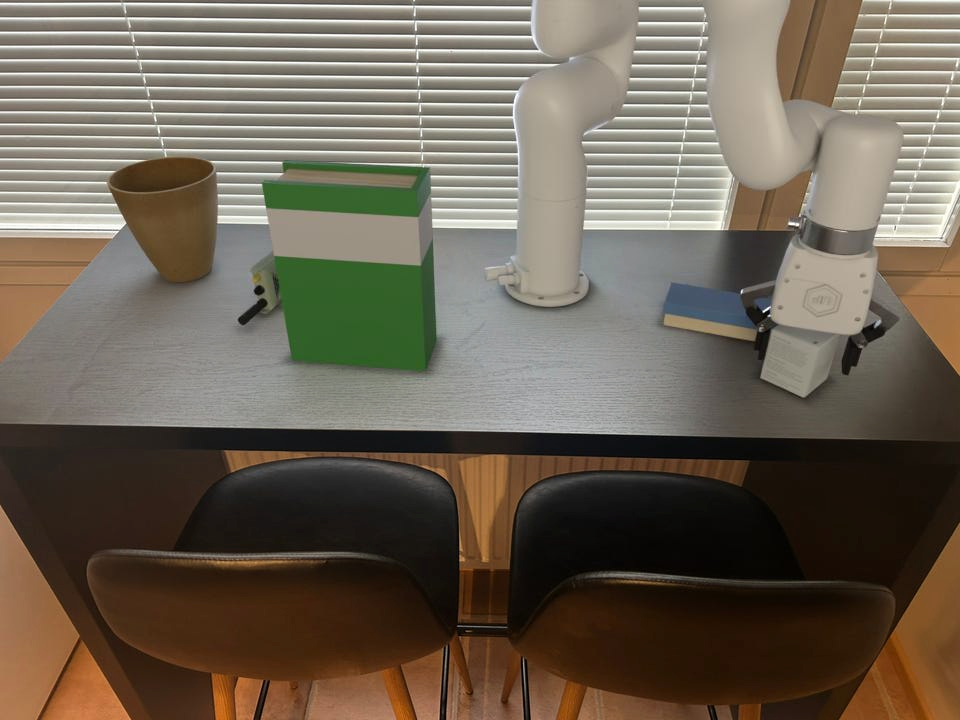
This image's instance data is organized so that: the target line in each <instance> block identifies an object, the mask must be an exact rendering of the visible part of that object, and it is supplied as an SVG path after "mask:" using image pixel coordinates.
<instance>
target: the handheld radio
mask: <svg viewBox="0 0 960 720" xmlns="http://www.w3.org/2000/svg"><path fill="white" fill-rule="evenodd" d="M249 272H250V273H251V274H252V277H251V279H252V282H254V289H253V294H254V295H255V296H256V297H257V301H256V303H255V304H253V305H252V306H251V307H249V308H248V309H247V310H246V311H245V312H243V313H242V314H241V315H240V316H239V317H238V318H237V323H238V324H239V325H240V326H245V325H247V324H248V323H249V322H250V321H251V320H253V318H254V317H256V316H257V315H258V314H264V315H267V314H269V313H270V312H271V311H272V310H273V309H275V308H276V307H277V306H278V305H280V303H282V299H281V293H280V287H279V282H278V276H277V270H276V264H275V258H274V252H273V250H272V251H269V253H268V254H267V255H265V256H264V257H263V258H261V259H260V260H259V261H258V262H256V263H255V264H254V265H252V266H251V269H250V270H249Z"/></svg>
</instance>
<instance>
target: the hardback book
mask: <svg viewBox="0 0 960 720" xmlns="http://www.w3.org/2000/svg"><path fill="white" fill-rule="evenodd" d="M281 163H282V171H283V173H282V174H281V175H280V176H279V177H278V178H277V179H276V180H271V179H264V180H263V181H262V182H261V187H262V193H263V198H264V204H265V210H266V216H267V217H266V218H267V221H268V228H269V234H270V240H271V245H272V251H273V252H274V258H275V264H276V270H277V276H278V282H279V287H280V293H281V299H282V301H281V305H282V311H283V316H284V323H285V328H286V334H287V339H288V346H289V352H290V359H291V361H295V362H296V361H297V362H307V363H317V364H318V363H321V364H333V365H344V366H354V367H355V366H357V367H369V368H380V369H393V370H404V371H415V372H427V369H428V366H429V363H430V361H431V357H432V354H433V352H434V349H435V346H436V343H437V339H438V338H437V337H438V336H437V314H436V313H437V312H436V288H435V287H436V286H435V283H436V282H435V262H434V261H435V260H434V259H435V258H434V256H435V255H434V232H433V208H432V205H433V203H432V181H431V180H432V177H431V167H428V166H410V165H409V166H408V165H390V164H369V163H351V162H334V161H333V162H332V161H331V162H329V161H311V160H309V161H308V160H295V159H293V160H292V159H285V160H283V161H282V162H281Z"/></svg>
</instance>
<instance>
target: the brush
mask: <svg viewBox="0 0 960 720" xmlns="http://www.w3.org/2000/svg"><path fill="white" fill-rule="evenodd" d="M740 294H741V292H740V293H739V292H733V291H728V290H727V291H726V290H721V289H714V288H709V287H702V286H697V285H691V284H684V283H679V282H674V281H673V282H671V281H670V284H669V287H668V290H667V293H666V296H665V300H664V304H663V310H662V314H664V318H663V324H662V325H663V326H667V327H672V328H678V329H685V330H688V331H694V332H701V333H706V334H712V335H715V336H716V335H717V336H722V337H728V338H733V339H740V340H745V341H749V342H755V338H756V334H757V329H756V326H755V324H754V323H753V322H752V321H751V320H750V319H749V317H748V316H747V315H746V311H745V308H744V306H743V304H742V301H741V298H740ZM771 301H772V298H770V297H762V298H758V299H755V303H756V304H757V306H758V307H759V308H760V309H761V310H762V311H764V310H765V309H767V308H768V307H770V306H771ZM777 325H779V324H777V323H776V324H775V325H773V326H772V327H771V328H770V334H771V330H772V329H773V328H775V327H776V326H777ZM769 338H770V336H769ZM768 342H769V341H768Z"/></svg>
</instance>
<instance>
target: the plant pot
mask: <svg viewBox="0 0 960 720" xmlns="http://www.w3.org/2000/svg"><path fill="white" fill-rule="evenodd" d="M217 176H218V175H217V166H216V165H215V163H214V162H212V161H211V160H209V159H205V158H202V157H196V156H185V155H183V156H181V155H179V156H165V157H164V156H163V157H154V158H150V159H145V160H140V161H137V162H134V163H130V164H127V165H125V166H123V167H121V168H118V169H117V170H115V171H113V172H112V173H111V174H109V175H108V176H107V178H106V185H107V186H108V189H109V192H110V193H111V195H112V197H113V199H114V201H115V203H116V206H117V208H118V211H119V212H120V214H121V216H122V218H123V220H124V222H125V223H126V225H127V227H128V229H129V231H130V232H131V234H132V235H133V237H134V239H135V240H136V242H137V244H138V246H139V247H140V249H141V250H142V252H143V253H144V254H145V256H146V257H147V258H148V260H149V261H150V262H151V264H152V266H153V267H154V269H155V270H157V272H158V273H159V274H160V276H161V277H162V278H163V279H164V280H166V281H167V282H172V283H188V282H192V281H197V280H199V279H202V278H204V277H206V276H207V275H208V274H210V272H211V271H212V268H213V263H214V257H215V252H216V245H217V234H218V220H219V219H218V218H219V217H218V216H219V193H218V177H217Z"/></svg>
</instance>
